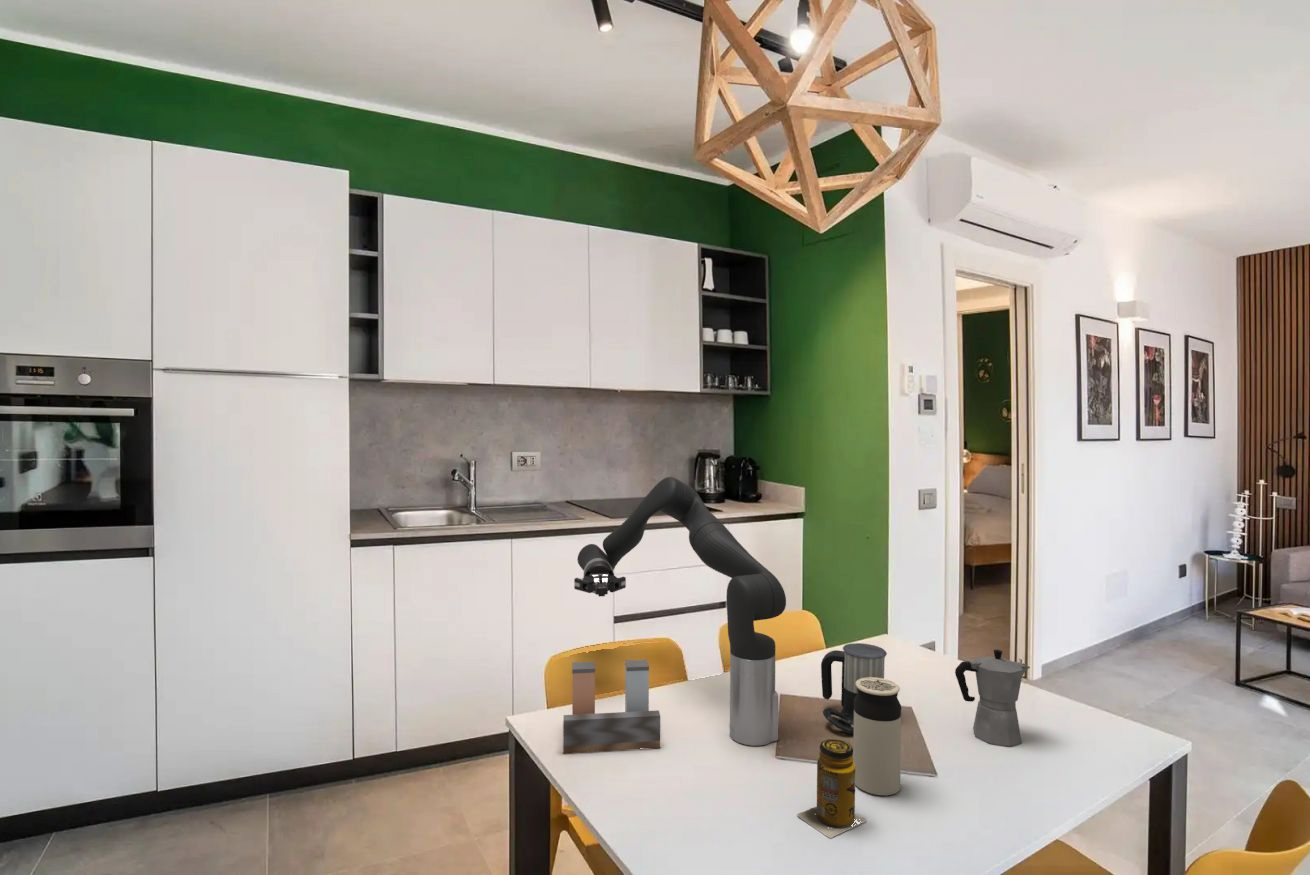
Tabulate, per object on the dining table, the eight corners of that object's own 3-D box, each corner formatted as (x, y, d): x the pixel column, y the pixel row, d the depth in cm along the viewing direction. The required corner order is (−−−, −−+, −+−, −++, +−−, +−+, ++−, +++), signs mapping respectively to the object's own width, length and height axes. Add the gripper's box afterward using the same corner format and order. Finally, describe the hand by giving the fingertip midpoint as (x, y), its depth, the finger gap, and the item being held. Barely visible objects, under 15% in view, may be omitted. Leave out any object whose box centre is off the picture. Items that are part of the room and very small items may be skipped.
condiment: (866, 821, 109) (867, 748, 109) (830, 839, 105) (831, 762, 104) (831, 800, 115) (832, 731, 115) (796, 816, 111) (796, 744, 111)
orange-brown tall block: (594, 722, 141) (594, 661, 141) (595, 731, 137) (595, 668, 137) (572, 723, 141) (572, 662, 140) (572, 732, 137) (572, 669, 136)
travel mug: (894, 802, 115) (895, 697, 115) (847, 788, 119) (848, 687, 119) (904, 781, 122) (905, 682, 121) (860, 769, 126) (860, 673, 126)
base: (651, 717, 148) (651, 688, 148) (660, 748, 134) (660, 715, 134) (564, 722, 145) (564, 692, 145) (563, 753, 131) (563, 720, 131)
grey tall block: (646, 719, 143) (646, 659, 142) (648, 728, 139) (649, 666, 138) (624, 720, 142) (625, 660, 142) (626, 729, 138) (626, 667, 138)
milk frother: (881, 708, 153) (881, 643, 153) (896, 740, 138) (897, 668, 137) (816, 705, 155) (817, 640, 155) (825, 736, 139) (825, 665, 139)
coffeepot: (1015, 726, 144) (1016, 642, 144) (1042, 747, 135) (1043, 657, 135) (944, 726, 144) (945, 642, 143) (966, 748, 134) (967, 658, 134)
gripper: (572, 561, 170) (572, 576, 153) (624, 559, 172) (630, 574, 154) (572, 590, 170) (572, 609, 153) (624, 589, 172) (630, 607, 155)
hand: (601, 592), depth 154 cm, fingers closed
